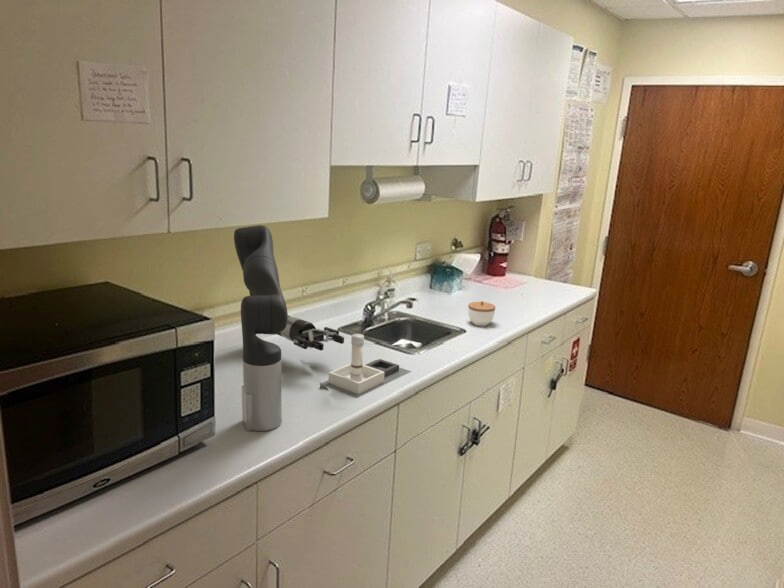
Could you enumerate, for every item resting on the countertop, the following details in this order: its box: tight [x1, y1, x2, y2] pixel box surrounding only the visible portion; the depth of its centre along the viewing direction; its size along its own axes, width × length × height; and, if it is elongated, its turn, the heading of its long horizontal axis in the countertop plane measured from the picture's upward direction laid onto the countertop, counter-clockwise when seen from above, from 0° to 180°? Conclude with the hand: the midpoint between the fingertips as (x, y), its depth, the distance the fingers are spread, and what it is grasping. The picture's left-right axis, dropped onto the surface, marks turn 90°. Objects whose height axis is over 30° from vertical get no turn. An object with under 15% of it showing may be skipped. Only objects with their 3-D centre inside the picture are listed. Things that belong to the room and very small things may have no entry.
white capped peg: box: [350, 333, 365, 382], centre depth 169 cm, size 4×4×14 cm
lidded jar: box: [467, 300, 496, 327], centre depth 234 cm, size 11×11×9 cm
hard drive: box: [392, 338, 422, 349], centre depth 204 cm, size 2×8×12 cm
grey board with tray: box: [319, 358, 412, 399], centre depth 175 cm, size 26×14×4 cm, turn 143°
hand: (333, 343), depth 175 cm, fingers open, 8 cm apart
